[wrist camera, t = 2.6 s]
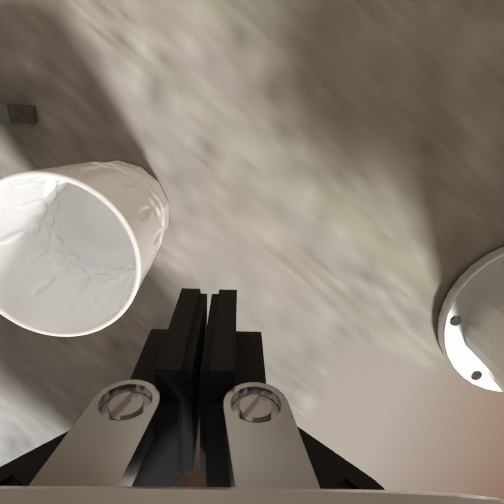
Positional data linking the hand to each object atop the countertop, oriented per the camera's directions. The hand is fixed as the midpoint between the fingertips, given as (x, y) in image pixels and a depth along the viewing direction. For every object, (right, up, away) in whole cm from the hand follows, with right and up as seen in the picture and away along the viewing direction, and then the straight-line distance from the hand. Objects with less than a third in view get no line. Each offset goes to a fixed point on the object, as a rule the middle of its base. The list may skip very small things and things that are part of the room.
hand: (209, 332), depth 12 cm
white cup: (-8, +5, +15) cm, 18 cm away
